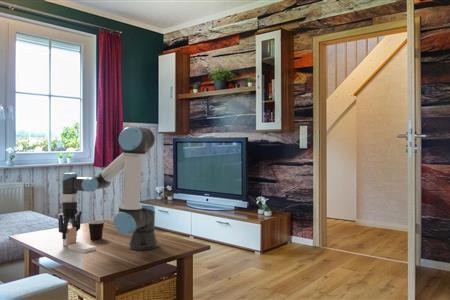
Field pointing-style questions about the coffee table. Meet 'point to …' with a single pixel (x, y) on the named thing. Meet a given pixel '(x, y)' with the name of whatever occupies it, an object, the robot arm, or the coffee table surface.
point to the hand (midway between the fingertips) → (69, 244)
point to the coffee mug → (96, 230)
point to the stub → (71, 235)
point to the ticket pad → (81, 247)
